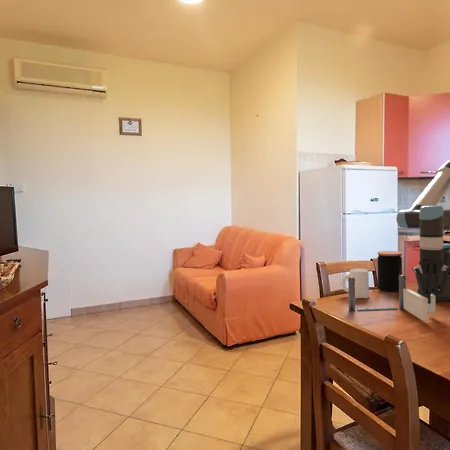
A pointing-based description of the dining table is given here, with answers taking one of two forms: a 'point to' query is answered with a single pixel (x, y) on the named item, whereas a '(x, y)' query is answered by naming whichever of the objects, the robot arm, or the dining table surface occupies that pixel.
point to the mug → (358, 282)
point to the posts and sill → (352, 308)
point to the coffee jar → (389, 270)
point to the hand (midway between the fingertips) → (431, 311)
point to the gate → (416, 304)
